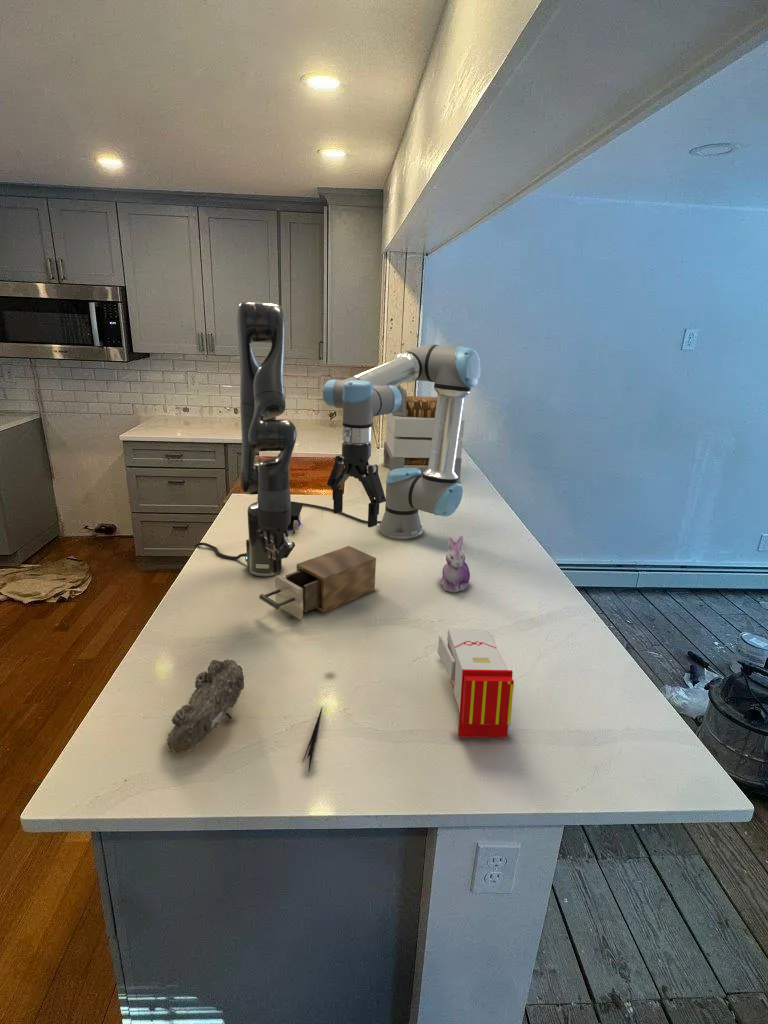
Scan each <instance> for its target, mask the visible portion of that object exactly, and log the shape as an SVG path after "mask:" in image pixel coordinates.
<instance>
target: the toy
mask: <svg viewBox="0 0 768 1024" xmlns="http://www.w3.org/2000/svg"><path fill="white" fill-rule="evenodd" d="M446 640H447V643H446V641H445V639H444V636H443V635H442V634H439V637H438V646H437V656H438V657H439V659H440V661H441V663H442V666H443V668H444V670H445V672H446V674H447V677H448V679H449V681H450V684H451V687H452V690H453V693H454V697H455V701H456V705H457V708H458V711H459V714H458V715H459V716H458V730H457V731H458V732H457V737H458V738H508V731H509V726H510V725H511V717H512V707H513V697H514V696H513V695H514V684H515V680H514V679H513V673H514V671H513V670H512V669H508V667H507V665H506V662H505V661H504V659H503V658H502V655H501V653H500V651H499V649H498V647H497V643H496V639H495V637H494V635H493V634H491V632H490V631H489V629H467V628H466V629H465V628H463V629H461V628H460V629H459V628H448V630H447V639H446Z"/></svg>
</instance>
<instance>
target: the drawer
mask: <svg viewBox="0 0 768 1024" xmlns="http://www.w3.org/2000/svg"><path fill="white" fill-rule="evenodd" d="M274 581H275V582H274V584H275V588H274V589H275V590H273V591H270V592H267V593H266V594H263V593H261V594H259V596H258V599H259V600H260V601H262V602H264V603H265V604H267V605H269V606H270V607H272V608H273V609H275V610H279V609H280V608H281V609H283V610H285V611H286V612H288V613H290V614H291V615H293V616H295V617H296V618H298V619H302V618H304V613H308V612H309V611H313V610H314V609H316V608H317V607H319V606H321V580H320V579H318V578H316V577H314V576H312V575H310V574H308V573H307V572H305V571H303V570H299V571H297V570H296V571H294V572H291V573H288V574H286V575H285V577H283V576H281V575H280V574H276V575H274ZM274 595H275V600H273V599H272V598H270V597H271V596H274Z"/></svg>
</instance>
